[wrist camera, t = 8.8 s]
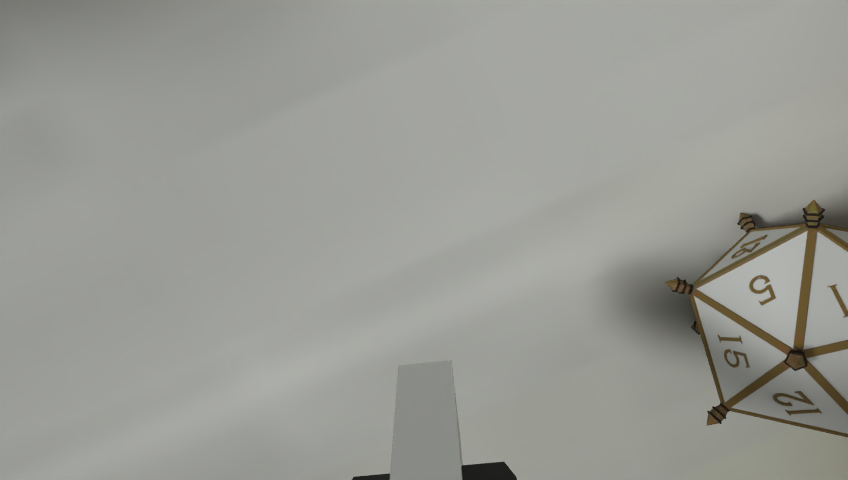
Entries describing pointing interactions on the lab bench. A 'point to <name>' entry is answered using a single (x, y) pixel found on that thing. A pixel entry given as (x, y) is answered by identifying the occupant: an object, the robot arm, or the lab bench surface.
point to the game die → (778, 323)
